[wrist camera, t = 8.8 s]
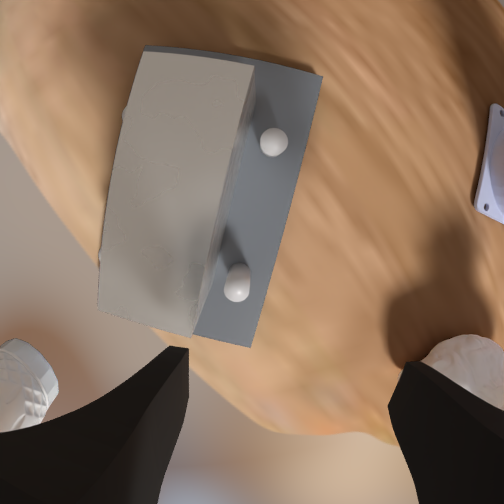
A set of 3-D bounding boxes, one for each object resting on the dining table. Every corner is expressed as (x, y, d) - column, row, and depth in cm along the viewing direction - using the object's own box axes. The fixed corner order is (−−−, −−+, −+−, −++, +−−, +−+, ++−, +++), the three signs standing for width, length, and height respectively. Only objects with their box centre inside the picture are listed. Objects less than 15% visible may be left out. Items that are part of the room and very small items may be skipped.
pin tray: (319, 81, 15) (333, 62, 12) (250, 339, 19) (249, 372, 16) (150, 50, 15) (129, 29, 11) (104, 299, 19) (78, 323, 15)
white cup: (-3, 317, 20) (-74, 372, 10) (64, 356, 20) (-4, 435, 11) (6, 379, 22) (-46, 435, 12) (66, 415, 22) (20, 487, 13)
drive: (256, 102, 15) (254, 66, 9) (212, 283, 17) (191, 338, 11) (182, 88, 15) (143, 51, 9) (145, 265, 17) (97, 310, 11)
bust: (479, 353, 22) (575, 328, 12) (467, 431, 19) (566, 430, 9) (385, 330, 21) (502, 290, 11) (365, 428, 18) (485, 450, 8)
